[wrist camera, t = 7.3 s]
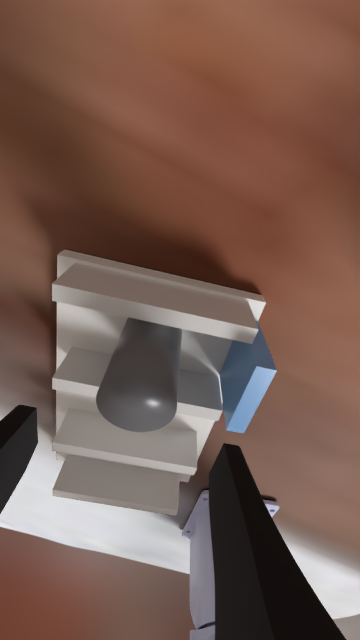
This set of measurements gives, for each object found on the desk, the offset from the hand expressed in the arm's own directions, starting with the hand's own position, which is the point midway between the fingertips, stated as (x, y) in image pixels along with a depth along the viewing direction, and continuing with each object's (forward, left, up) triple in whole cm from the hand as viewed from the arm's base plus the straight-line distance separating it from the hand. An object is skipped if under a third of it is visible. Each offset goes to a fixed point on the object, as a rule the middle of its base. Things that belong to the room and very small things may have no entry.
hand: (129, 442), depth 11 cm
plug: (0, 0, -8) cm, 8 cm away
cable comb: (-6, 0, -9) cm, 11 cm away
